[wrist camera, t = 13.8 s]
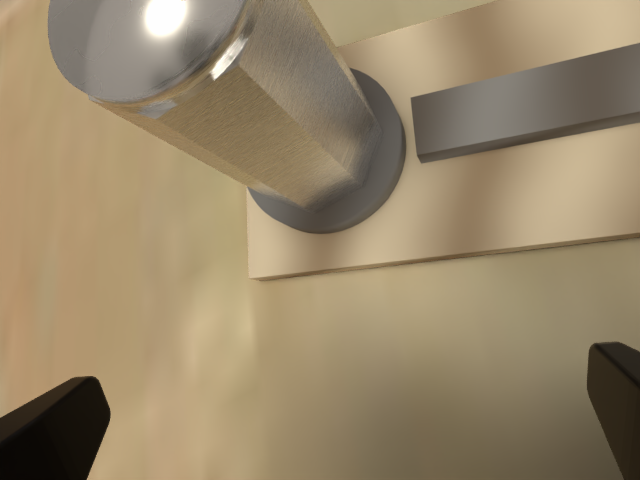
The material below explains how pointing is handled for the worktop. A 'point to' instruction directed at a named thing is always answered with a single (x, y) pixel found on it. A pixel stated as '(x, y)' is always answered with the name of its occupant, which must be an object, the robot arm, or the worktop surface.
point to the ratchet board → (480, 142)
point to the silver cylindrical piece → (227, 88)
